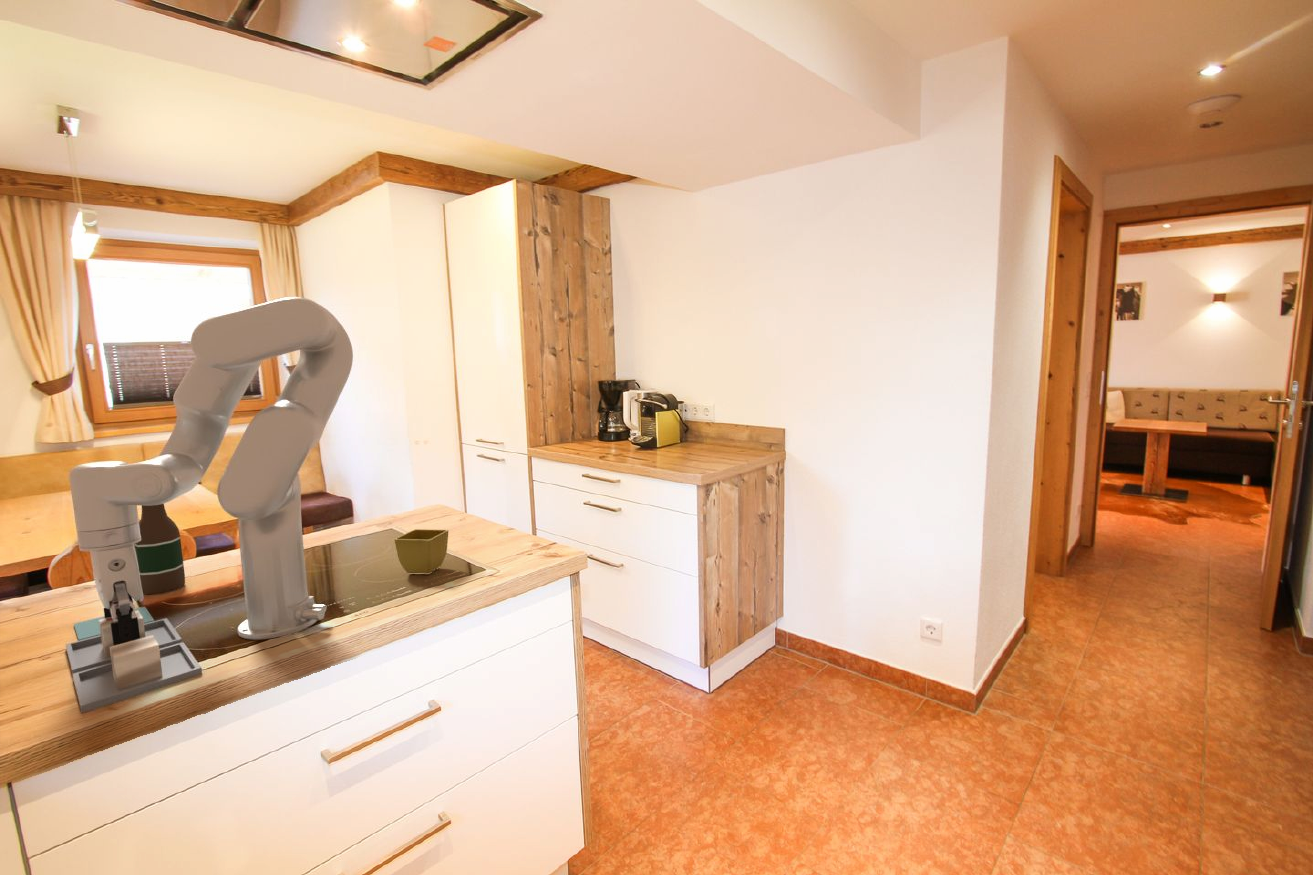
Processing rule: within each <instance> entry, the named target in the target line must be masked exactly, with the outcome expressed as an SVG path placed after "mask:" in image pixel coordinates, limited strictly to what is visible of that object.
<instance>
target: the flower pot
mask: <svg viewBox="0 0 1313 875" xmlns="http://www.w3.org/2000/svg"><path fill="white" fill-rule="evenodd" d="M448 541H449V530H448V529H426V528H425V529H417V528H415V529H413V530H410V531H408V532H406V533H404V534H402V535H400V536H398V537H396V538H394V544H395V548H396V553H397V557H398V561H399V562H400V565H401V567H402V568H403V569H404V571H405V572H406V573H407V574H408V573H430V572H432V571H433V570H434V569H437V568H438V567H439V566H440V567H442V565H443V563H444V560H445V557H446V555H447V551H448ZM437 570H438V569H437Z"/></svg>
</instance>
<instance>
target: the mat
mask: <svg viewBox="0 0 1313 875" xmlns="http://www.w3.org/2000/svg"><path fill="white" fill-rule="evenodd" d="M134 609H135V611H139V612H140V614H141V616H142V617H143V622H144V624H146V623H149V622H153V621H155V619H154V618H153V616H152V615H151V613H150V612H149V610H148V608H146V606H141V607H137V608H134ZM101 619H105V615H104V616H100V617H96V618H92V619H87V620H83V621H79V622H76V623H73V628H74V630H75V633H76V634H75V635H76V637H77V641H80V640H84V639H87V638H91V637H95V636H99V635H101V632H100V625H99V620H101Z"/></svg>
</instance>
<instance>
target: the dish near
mask: <svg viewBox="0 0 1313 875" xmlns="http://www.w3.org/2000/svg"><path fill="white" fill-rule="evenodd" d="M159 651H160V659H161V667H162V675H163V676H160V677H157V678H154V679H151V680H147V681H144V682H141V683H138V684H135V685H131V686H128V687H125V688H122V689H119V690H118V688H117V685H116V682H115V680H114V676H113V669H112V663H108V664H105V665H102V666H98V667H95V668H91V669H88V670H84V671H81V672H77V673H74V674H72V679H73V680H72V681H73V684H74V688H75V692H76V695H77V700H78V703H79V708H80V712H81V714H85V713H87V712H90V711H93V710H94V711H95V710H96V709H99V708H103V707H105V706H108V705H112V704H115V703H119V702H121V701H124V700H127V699H131V698H133V697H136V696H139V695H142V694H145V693H149V692H152V691H155V690H157V689H160V688H164V687H167V686H170V685H172V684H176V683H179V682H183V681H185V680H188V679H189V680H190V679H192V678H194V677H197V676H200V675H203V671H202V670H203V669H202V666H201V665H200V663H199V662H198V661H197V659H196V658H195V656H194V655H193V653H192V652H191V651H190V649H189V648H188V647H187V645H186V644H185V643H184V641H182V643H178V644H175V645H171V646H168V647H164V648H161V649H159Z"/></svg>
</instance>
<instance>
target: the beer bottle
mask: <svg viewBox="0 0 1313 875" xmlns="http://www.w3.org/2000/svg"><path fill="white" fill-rule="evenodd" d="M140 515H141V516H140V517H141V518H140V519H139V526H140V534H141V541H139V542H137V543H135V544H134V547H135V551H136V555H137V561H138V567H139V573H140V579H141V586H142V591H143V595H145V596H150V595H152V596H153V595H161V594H165V593H169V592H173V591H177V590H179V589H180V588H182V587H183V586H185V585H186V576H185V566H184V565H185V564H184V558H183V556H184V555H183V549H182V548H183V547H182V542H181V535H180V530H179V528H178V526H177V524H176V523H175V521H173V519H171V517H169V516H168V513H167V511H166V508H165V503H164V504H160V505H153V506H142V505H141V514H140Z"/></svg>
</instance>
